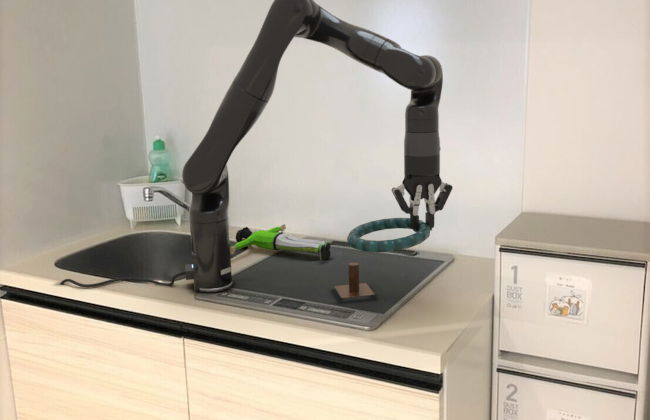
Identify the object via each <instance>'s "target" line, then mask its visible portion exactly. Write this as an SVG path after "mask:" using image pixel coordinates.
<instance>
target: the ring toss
mask: <svg viewBox="0 0 650 420" xmlns="http://www.w3.org/2000/svg"><path fill="white" fill-rule="evenodd" d="M333 287H334V289H335V291H336V292H337V294H338V295H339V297H340V298H341V299H347V298H356V297H367V296H375V295H376V294H375V292H374V291H373V290H372V288H370V285H368V284H367V282H362V283H361V282H360V263H358V262H355V261H352V262H349V263H348V284H342V285H341V284H340V285H334V286H333Z"/></svg>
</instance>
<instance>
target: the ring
mask: <svg viewBox="0 0 650 420" xmlns="http://www.w3.org/2000/svg"><path fill="white" fill-rule="evenodd" d="M394 229H404V230H406V229H407V230H413V229H412V228H411V227H410V217H390V218H381V219H377V220H371V221H368V222H365V223H362V224H359V225H358V226H355V227H354V228H352V229H351V230H350V231H349V232H348V235H347V238H346V242H347V243H348V244H349V245H350V247H351V248H353V249H355V250H358V251H362V252H366V253H387V252H388V253H390V252H396V251H402V250H407V249H410V248H412V247H413V248H414V247H415V246H418V245H421V244H422V243H424V242H425V241H426V240H427V239H429V237H430V234H431V231H430V226H429V225H428V224H426V223H425V221H424V220H421V219H419V231H417V232H414V233H412V234H409V235H407V236H403V237H399V238H393V239H382V240H371V239H363V236H366V235H368V234H372V233H374V232H380V231H383V230H394Z"/></svg>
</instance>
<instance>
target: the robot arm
mask: <svg viewBox="0 0 650 420" xmlns="http://www.w3.org/2000/svg"><path fill="white" fill-rule="evenodd" d="M294 38H298V39H299V38H300V39H304V40H309V41H313V42H316V43H320V44H323V45H326V46H328V47H331V48H332V49H334V50H337V52H340V53H341V54H344V55H345V56H347V57H349V58H350V59H352V60H353V61H354V62H355V61H356V62H358V63H360V64H361V65H363V66H365V67H368V68H369V69H372V70H374V71H376V72H379V73H380V74H383V75H385V76H386V77H388V78H389V79H390V80H392V81H394V82H395V83H396V84H397V85H399V86H401V87H403V88H405V89H407V90H409V91H410V98H409V102H408V103H407V105H406V106H405V111H404V130H405V131H404V140H403V150H404V151H403V167H404V168H403V170H404V171H403V173H404V175H403V176H404V177H403V180H402V182H401V184H400V185H399V186H396V187H392V188H391V193H392V195H393V197H394V198H395V200H396V202H397V204H398V206H399V208H400V209H401V211H402V212H404V213H405V214H407V215H409V218H410V227H411V228H412V229H411V230H412V231H413V232H414V233H416V232H417V231H419V220H420V215H419V207H420V205H421V200H424V204H425V213H424V214H425V217H424V219H425V220H424V222H425V223H426V224H428V225H429V226H430V232H431V231H433V229H434V228H435V214H436V213H437V212H439V211H442V210H444V207H445V206H446V203H447V201H448V199H449V197H450V195H451V192H452V191H453V188H454V187H453V185H451V184H449V183H448V182H443V180H442V178H441V176H440V174H441V140H440V139H441V138H440V131H439V129H440V125H439V124H440V118H439V117H440V115H439V107H440V103H441V97H442V92H443V83H444V71H443V67H442V66H443V65H442V64H441V62H440V61H439V60H438V59H437V58H436V57H435V56H432V55H428V54H427V55H426V54H424V55H418V54H415V53H412V52H411V51H409V50H406V49H405V48H402V46H401V45H400V44H399V43H398V42H396V41H394V40H393V39H390V38H388V37H386V36H384V35H381V34H379V33H377V32H375V31H372V30H370V29H367V28H364V27H361V26H358V25H355V24H352V23H349V22H347V21H345V20H343V19H341V18H339V17H337V16H336V15H333V14H332V13H331V12H329V11H328V10H326V9H325V8H323V7H322V6H321V5H319V4H318V3H317V2H316V1H315V0H273V2H272V3H271V4H270V7H269V9H268V11H267V14H266V15H265V18H264V21H263V23H262V25H261V27H260V30H259V32H258V34H257V37H256V39H255V41H254V43H253V45H252V47H251V49H250V51H249V52H248V53H247V55H246V56H245V59H244V61H243V62H242V65H241V66H240V68H239V70H238V72H237V73H236V75H235V76H234V78H233V80H232V81H231V84H230V85H229V87H228V89H227V91H226V93H225V95H224V97H223V98H222V100H221V102H220V104H219V106H218V109H217V110H216V112H215V114H214V117H213V119H212V121H211V123H210V125H209V127H208V130H207V131H206V133H205V135H204V136H203V138H202V140H201V141H200V143H199V144H198V145H197V147H196V148H195V150H194V151H193V153H192V154H191V155H190V156H189V158H188V159H187V160H186V162H185V163H184V165H183V168H182V173H181V177H182V183H183V185H184V187H185V189H186V190H187V191H189V192H190V193H191V202H190V206H189V209H188V216H189V218H188V219H189V230H190V231H189V232H190V245H191V259H192V260H191V261H192V263H187V264H185V265H184V271H181V272H178V273H176V274H175V275H173V276H172V277H171V281H170V282H167V283H165V282H161V281H158V280H154V279H149V278H143V277H142V278H141V277H131V276H130V277H129V276H128V277H116V278H112V279H107V280H103V281H100V282H96V283H90V284H89V283H88V284H85V283H81V282H78V281H76V280H73V279H72V278H65V279H63V280H62V281H61V282H60V283H59V285H64V284H65V283H67V282H68V283H71V284H73V285H75V286H78V287H81V288H96V287H99V286H103V285H107V284H111V283H114V282H120V281H135V282H136V281H137V282H142V283H143V282H144V283H151V284H155V285H160V286H165V287H170V286H173V285H174V284H175V280H176V279H177V278H178V277H181V276H183V275H185V280H186V281H192V280H193V289H194V292H195V293H198V292H201V293H219V292H223V291H227V290H228V289H230V288H232V287H233V284H234V283H233V282H234V281H233V273H232V258H231V257H232V256H231V253H230V247H231V241H230V226H229V225H230V224H229V207H230V178H229V177H230V176H229V169H228V162H229V160H230V159H231V156H232V155H233V152H234V151H235V149H237V146H238V145H239V144H240V143H241V142H242V140H243V139H244V138H245V137H246V135H248V134H249V132H250V131H251V129H252V128H253V127H254V125H255V124H256V123H257V121H258V120H259V119H260V117H261V116H262V114H263V113H264V110H265V109H266V107H267V105H268V103H269V102H270V101H271V98H272V96H273V94H274V91H275V87H276V82H277V78H278V72H279V67H280V64H281V61H282V58H283V56H284V54H285V52H286V51H287V49H288V48H289V46H290V45H291V43H292V41H293V40H294ZM438 190H439V193H438V195H437V197H436V199H435V194H436V193H437V192H438ZM405 191H406V192H407V194H408V195H409V205H408V203H407V201H406V200H405V198H404V196H405Z"/></svg>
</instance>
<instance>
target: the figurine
mask: <svg viewBox="0 0 650 420" xmlns="http://www.w3.org/2000/svg"><path fill="white" fill-rule="evenodd" d="M286 229H287V225H286V224H285V223H284V224H281V225H280V226H274V227H272V228H269V229H266V230H262V229H261V230H255V231H254V232H253V231H252V230H251V228H249V227H248V226H246V227H245V226H244V227H242V228H241V229H238V230H237V232H236V233H235V241H236V242H237V243H235V244H234V245H230V255H233V254H235V253H236V250H241V249H245V248H248V247H251V246H255V247H257V248H259V249H264V250H268V251H269V250H270V251H277V252H280V251H285V252H286V251H287V252H297V253H301V252H302V253H309V254H314V255H318V257H319V260H320V261H321V262H323V261H325V260H329V259H330V257H331V253H332V252H331V244H330V243H329V242H326V241H323V240H316V239H308V238H300V237H295V236H293V235H290V234H289V233H285V231H286Z"/></svg>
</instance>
